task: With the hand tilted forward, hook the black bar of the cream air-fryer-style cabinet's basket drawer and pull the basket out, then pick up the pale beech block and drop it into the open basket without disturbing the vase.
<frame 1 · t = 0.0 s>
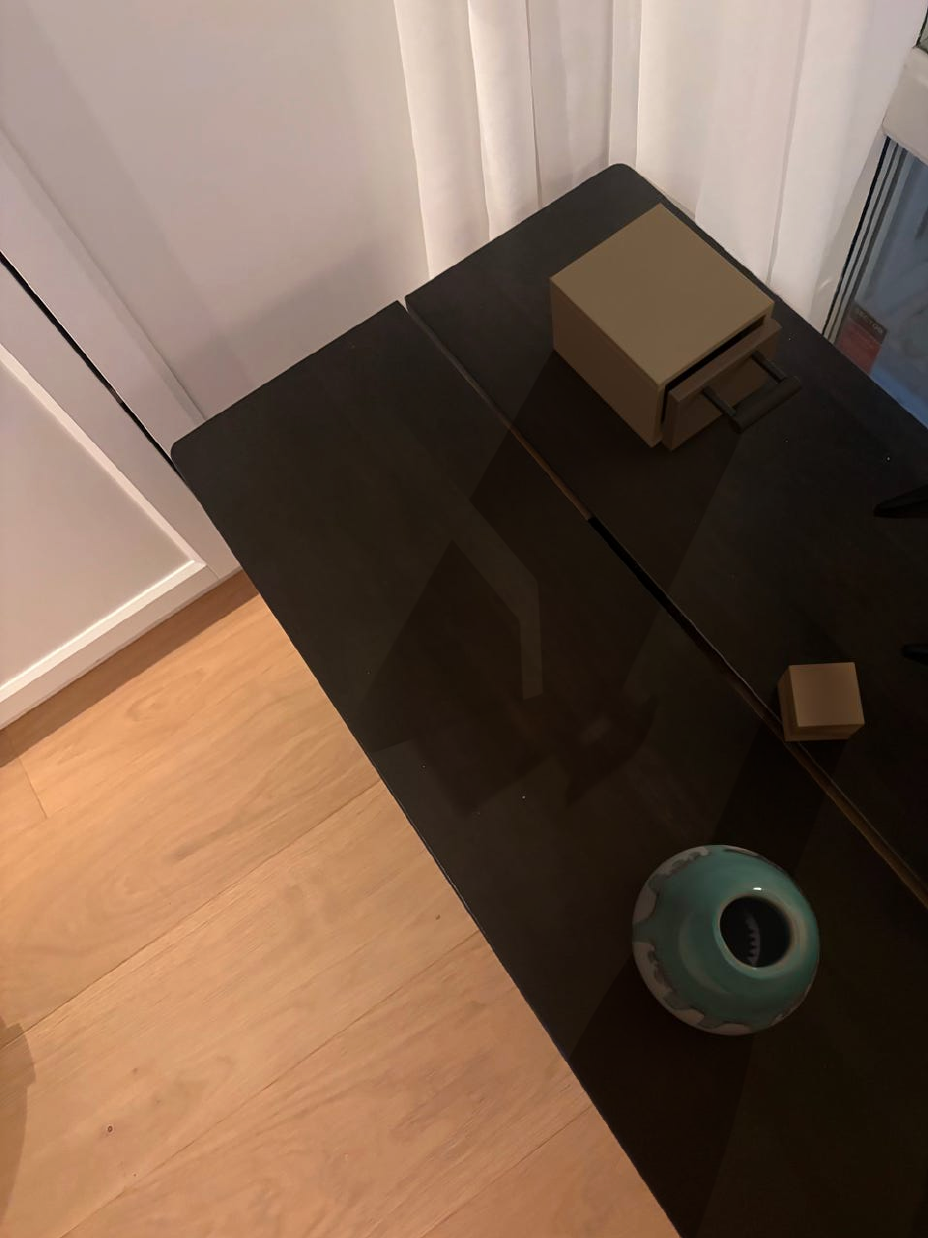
hand: (888, 578, 55), 16 cm above the table, tool horizontal, fingers open, 9 cm apart
basket: (692, 361, 75), point 5 cm above the table, slide at 0.5 cm
fryer: (652, 360, 81), on the table
vase: (712, 939, 64), on the table
block: (811, 710, 68), on the table
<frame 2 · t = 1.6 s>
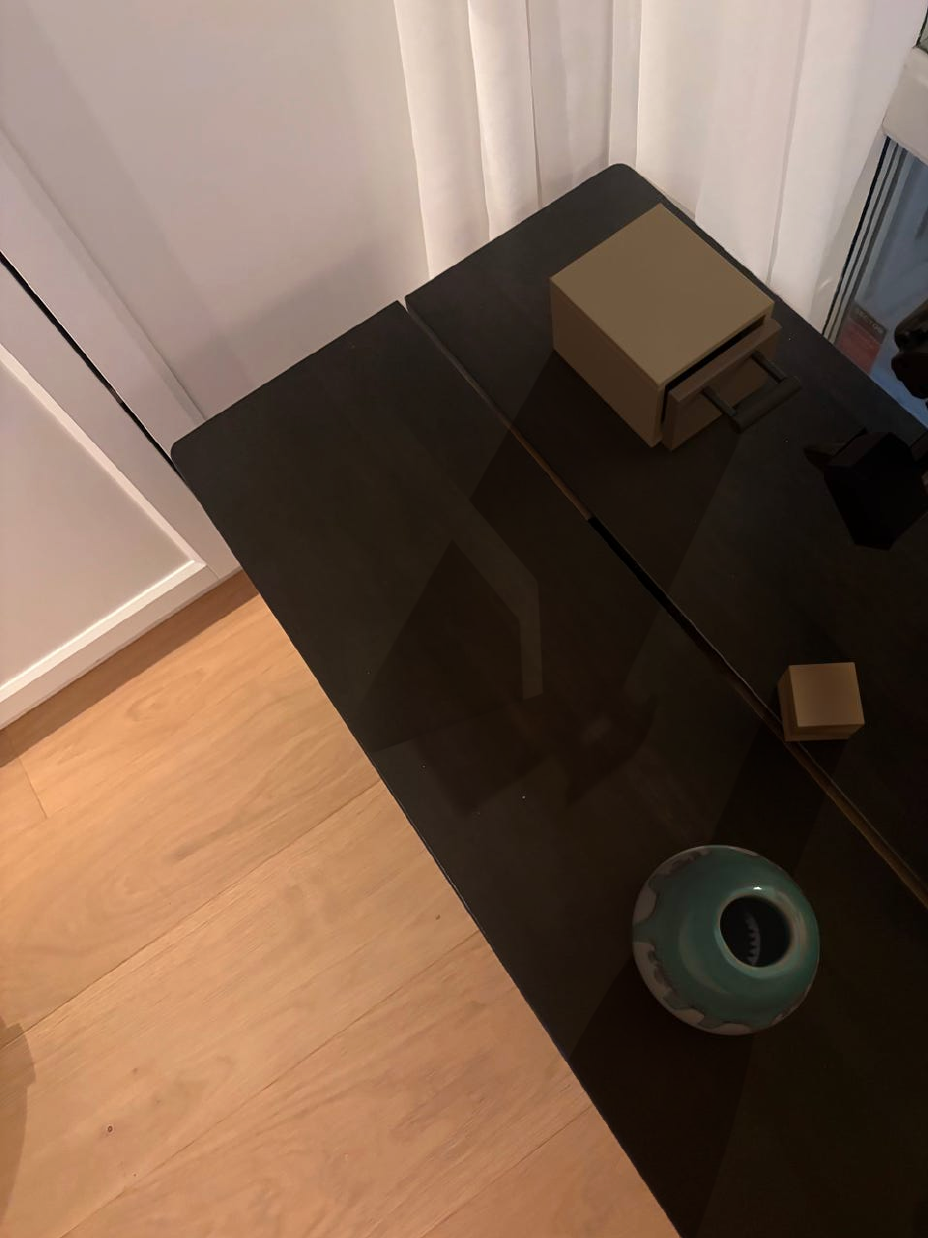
hand: (852, 412, 62), 13 cm above the table, tool tilted 45°, fingers open, 9 cm apart
nothing on the table moved.
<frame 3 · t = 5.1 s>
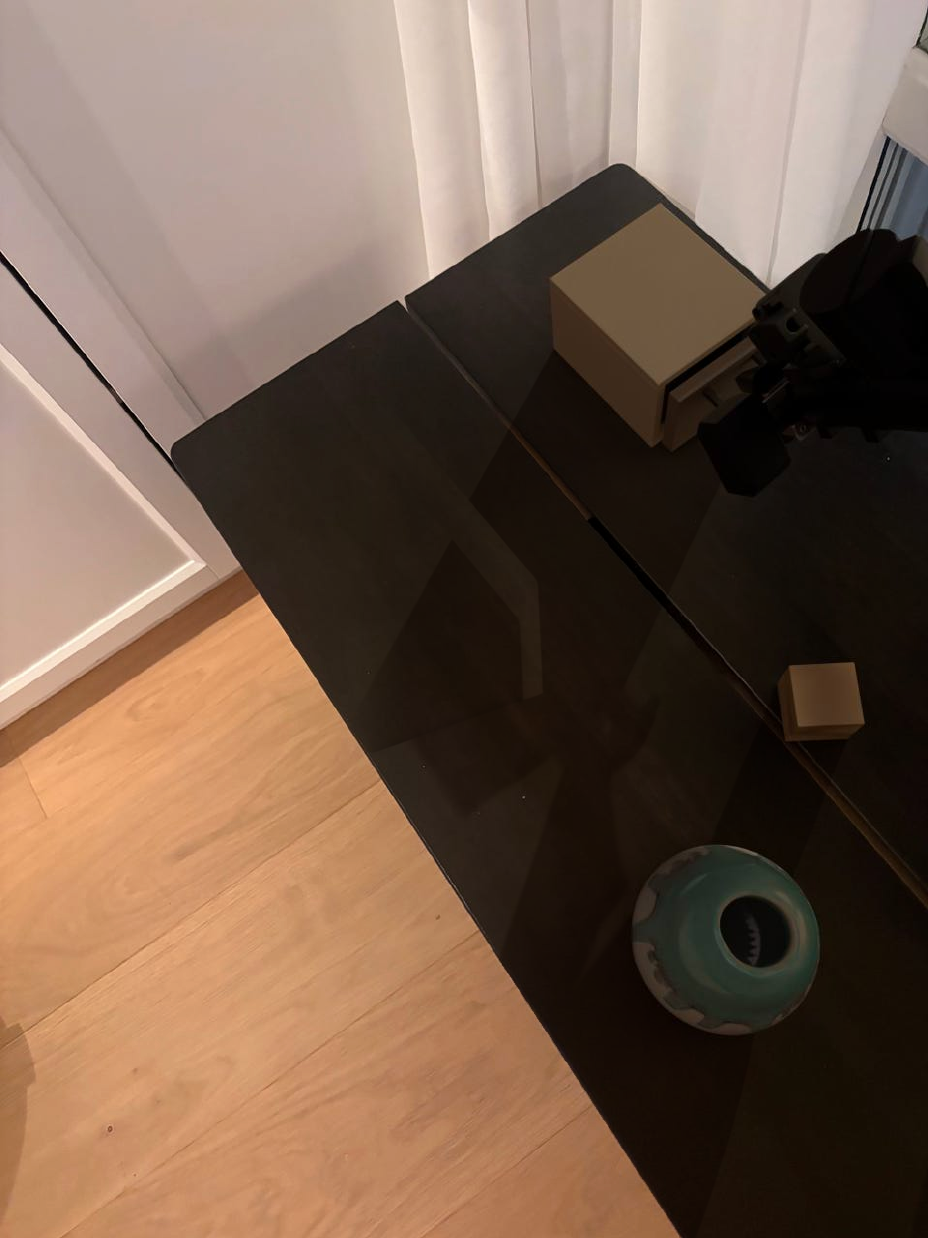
hand: (739, 381, 71), 7 cm above the table, tool tilted 45°, fingers closed, pressing on basket
basket: (692, 362, 75), point 5 cm above the table, slide at 0.6 cm, touching gripper
everything else where it was.
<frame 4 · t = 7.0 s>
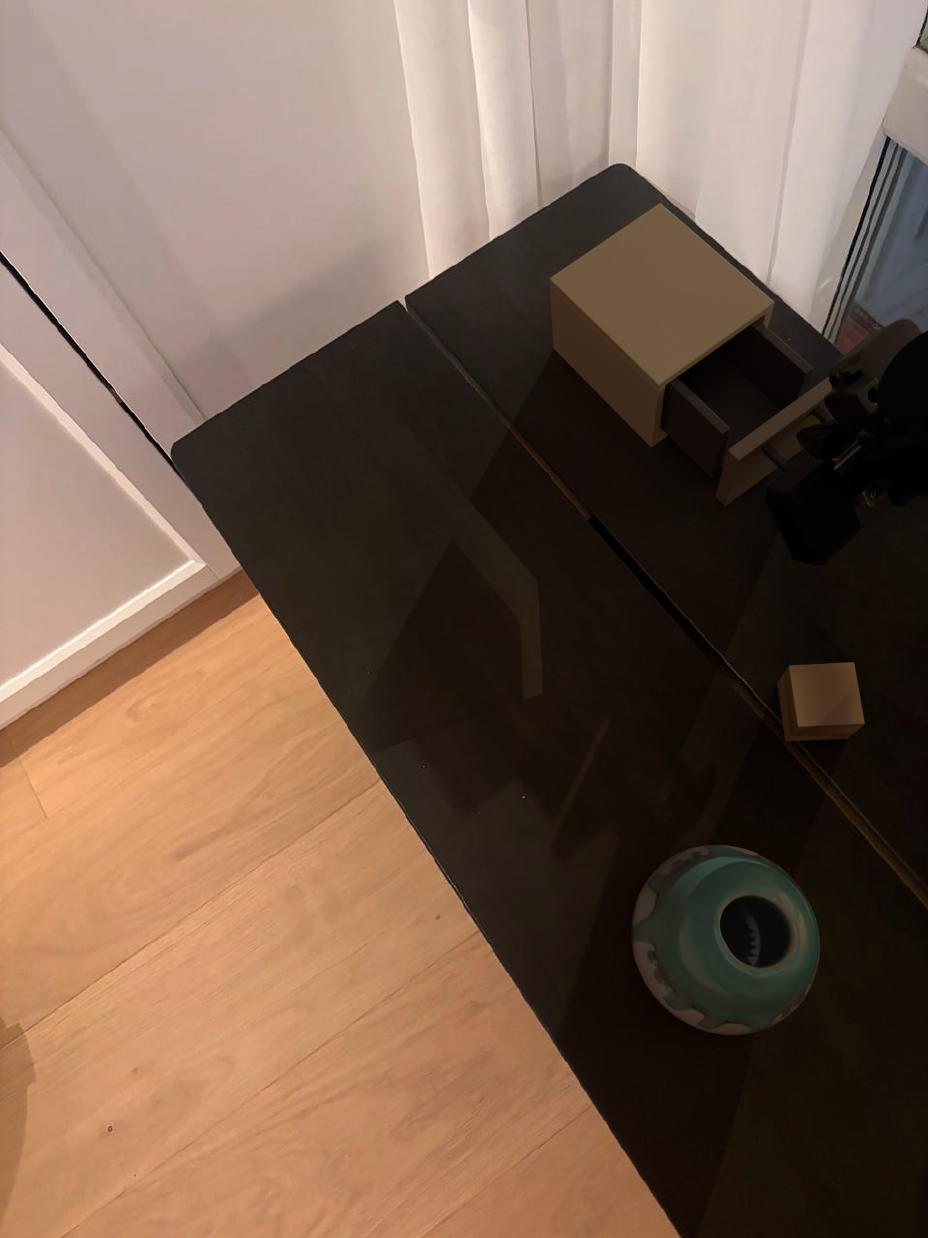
hand: (800, 437, 68), 7 cm above the table, tool tilted 45°, fingers closed, pressing on basket
basket: (748, 414, 73), point 5 cm above the table, slide at 7.2 cm, touching gripper
everything else where it was.
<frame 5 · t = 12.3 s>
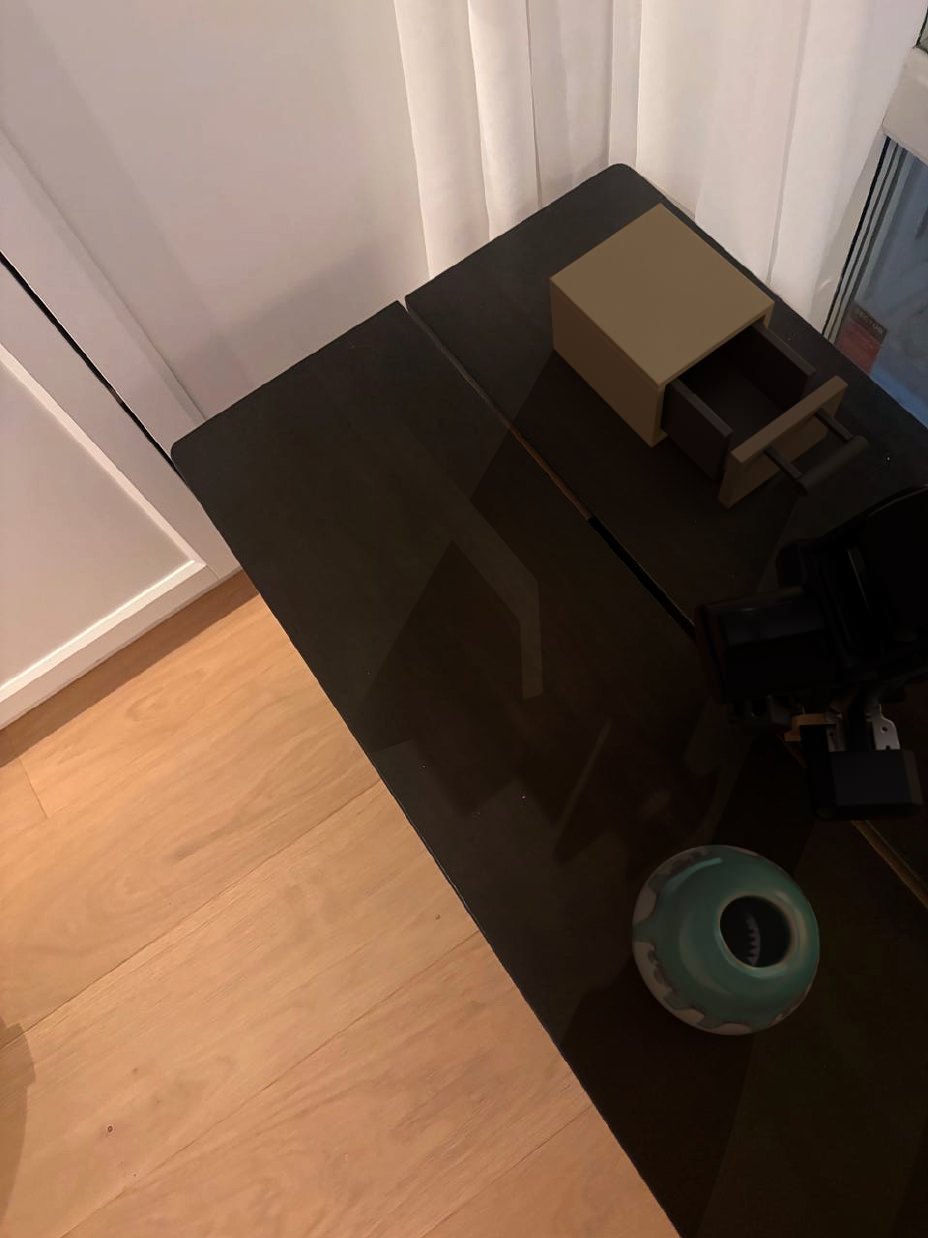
hand: (815, 706, 67), 1 cm above the table, tool pointing down, fingers closed on block, 4 cm apart
basket: (750, 416, 72), point 5 cm above the table, slide at 7.5 cm
block: (811, 710, 68), on the table, touching gripper
everything else where it was.
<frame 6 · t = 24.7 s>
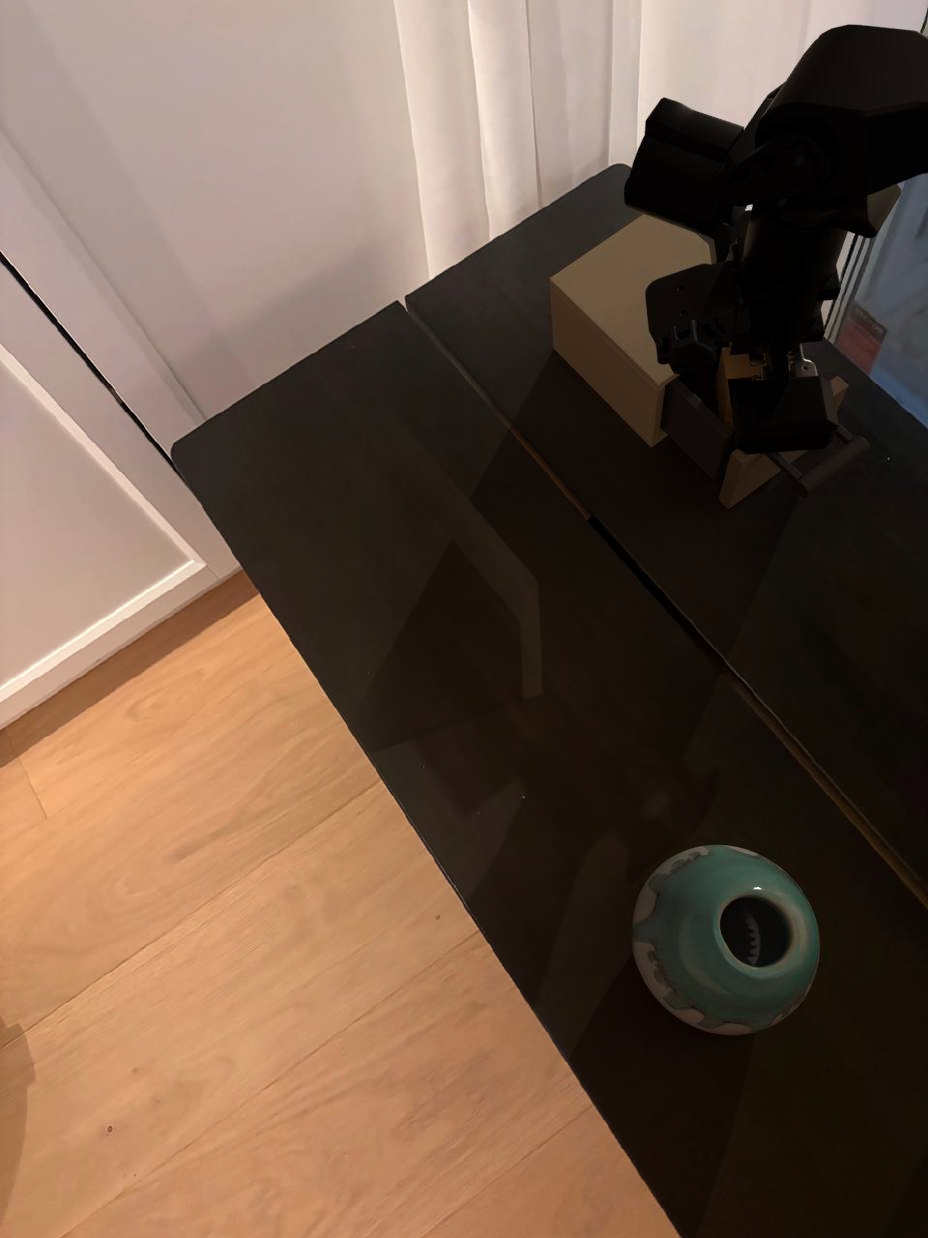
hand: (750, 396, 71), 7 cm above the table, tool pointing down, fingers closed on block, 4 cm apart
block: (746, 404, 72), point 6 cm above the table, touching gripper
everything else where it was.
when the fingers open (10 cm above the table, at t = 30.7 s): block drops 7 cm, resting on basket.
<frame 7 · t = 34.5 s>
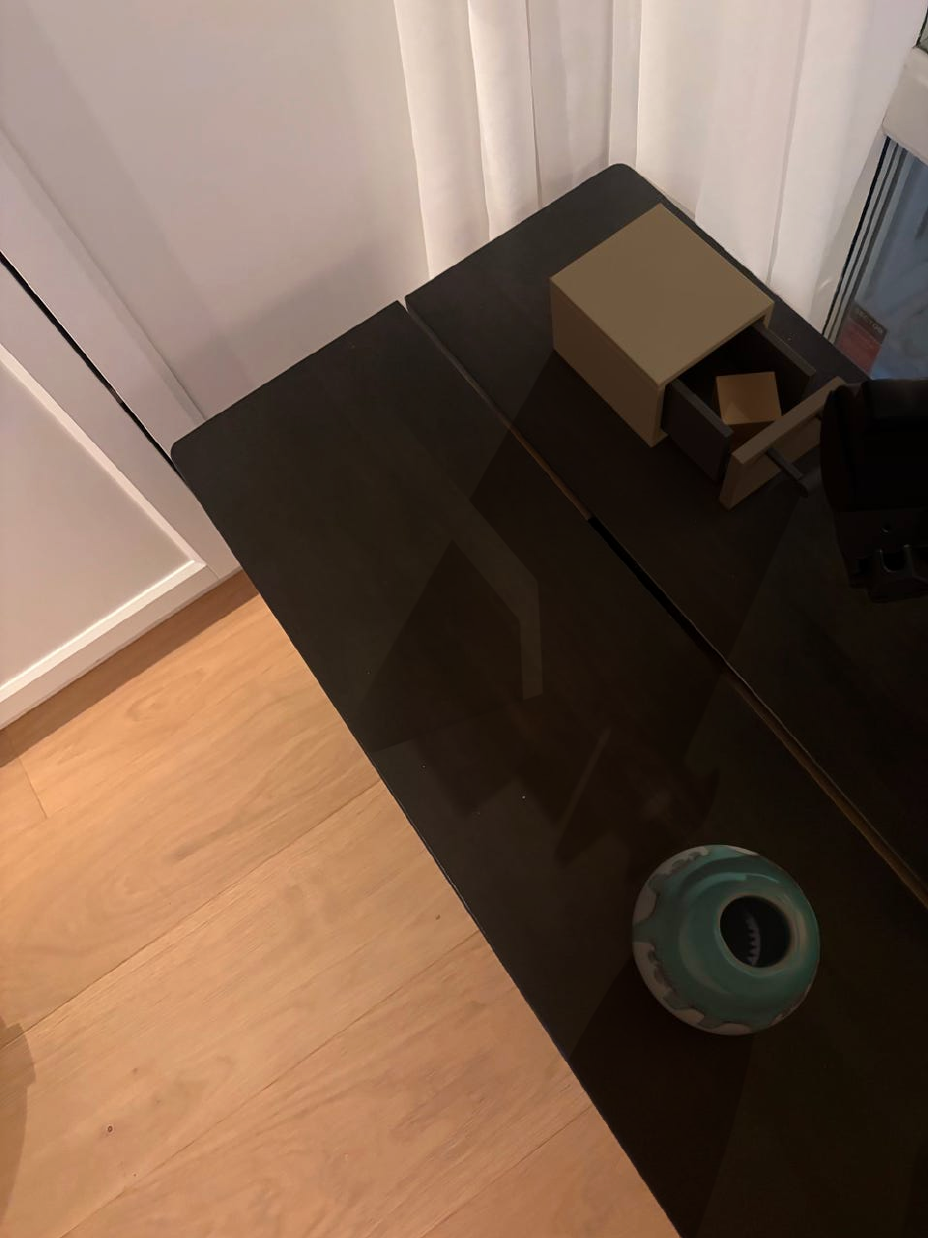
basket: (751, 417, 72), point 5 cm above the table, slide at 7.6 cm, touching block
block: (739, 429, 75), point 2 cm above the table, touching basket
everything else where it was.
at the end: basket slide at 7.6 cm; block inside the target area in the basket (0.0 cm from its centre), point 2.0 cm above the fryer's base; vase moved 0.2 cm from its start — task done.
